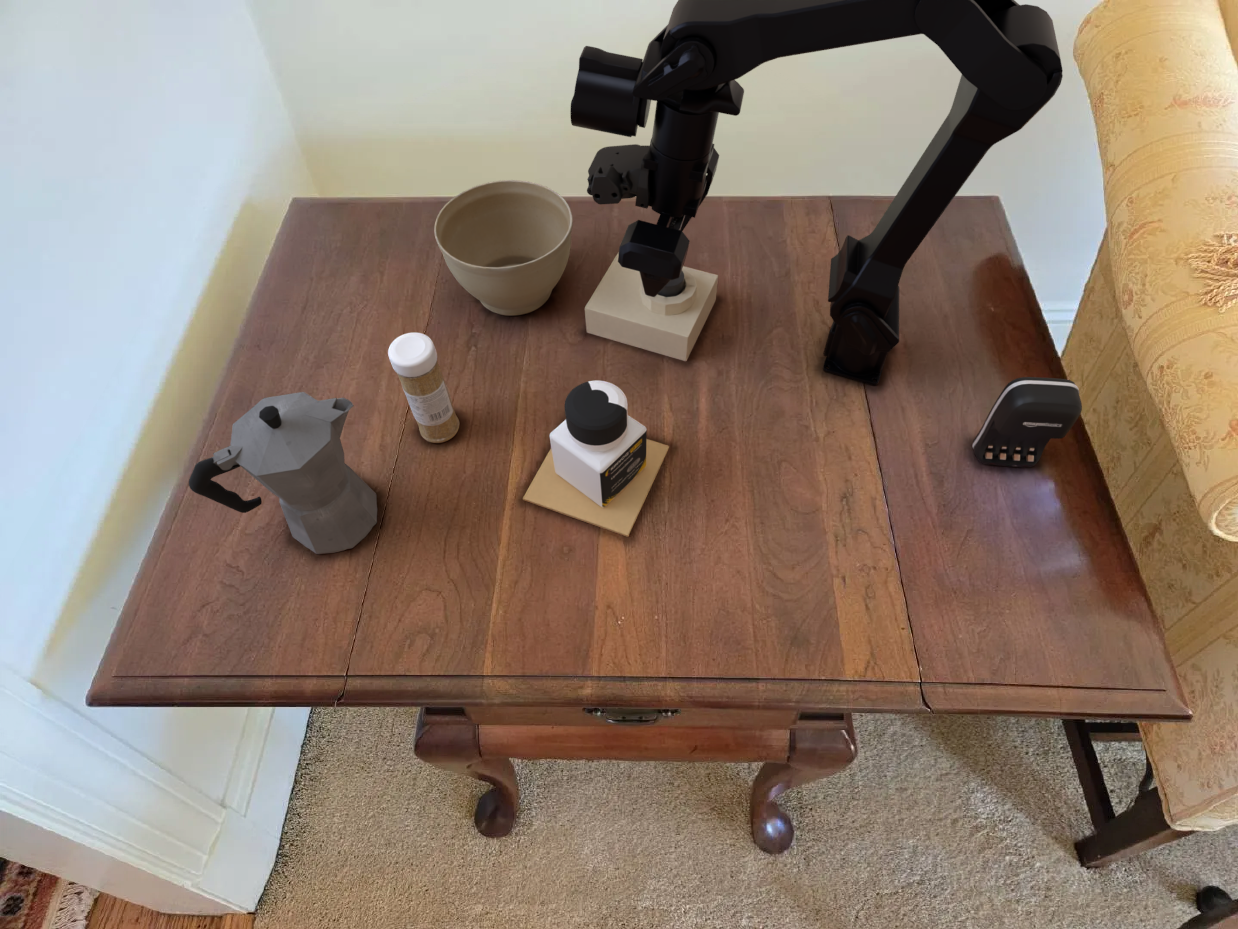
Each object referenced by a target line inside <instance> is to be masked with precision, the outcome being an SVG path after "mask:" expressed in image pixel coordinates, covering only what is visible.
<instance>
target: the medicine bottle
mask: <svg viewBox="0 0 1238 929" xmlns="http://www.w3.org/2000/svg"><path fill="white" fill-rule="evenodd" d="M628 409H629V408H628V398H627V396H626V394H625V393H624V391H623V390H622V389H621V388H620V387H619V386H617V385H615V384H614V383H612V382H609V381H605V380H599V379H596V380H589V381H585V382H582V383H580V384H578V385H576V386H575V387H574V388H573V389H571V391H569V393H567V396H566V397H565V400H564V415H565V419H564V421H562V422H561V423H560V424H558V426H557V427H555V428H554V429H553V430H552V431H551V432H550V433H549V441H550V442H549V443H550V449H552V455H553V461H554V467H555V472H556V473H557V474H558V475H559V476H560V477H562V478H563V479H564V480H566V481H567V482H568V483H570V484H571V485H572V486H574V487H575V488H576V489H578V490H579V491H580V492H582V493H583V494H585V495H586V496H587V497H589V498H590V499H591V500H593V501H594V502H595V503H597V504H598V505H599V506H601V507H602V508H603V507H606V506H607V505H608V504H609V503H610V502H611V501H612V500H613V499H614V498H615V497H616V496H617V495H618V494H619V493H620V492H621V491H622V490H623V489H624V488H625V487H626V486H627V485H628V484H629V483H630V482H631V481H632V480H633V479H634V478H635V477H636V476H637V475H638V474H639V473H640V472H641V471H642V470H643V469H644V468H645V467H646V443H647V439H648V438H647V436H648V433H647V426H645V425H644V424H642V423H641V422H639V421H638V420H636V419H635V418H634V417H632V416H630V415H629V414H628V413H629V412H628Z"/></svg>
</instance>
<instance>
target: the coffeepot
mask: <svg viewBox="0 0 1238 929" xmlns="http://www.w3.org/2000/svg"><path fill="white" fill-rule="evenodd" d="M353 407H354V404H353V402H352V400H350V399H347V398H346V397H339V398H337V397H333V398H327V399H326V398H325V399H320V400H318V399H316V398H314V397H313V396H311V395H310V394H308V393H307V392H306V391H299V392H293V393H292V392H291V393H286V394H280V395H273V396H268V397H263V398H262V399H261V400H260V401H258V402H257V403H256V404H255V405H253V406H252V408H250V409H249V410H248V411H247V412H245V413H244V414H243V415H242V416H241V417H239V418H238V419H237V420H236V421H234V423H233V424H232V427H231V435H230V445H228V446H225V447H224V448H221V449H220V450H217V451H215V452H213V453H212V455H213V456H211V457H209V458H206V459H203V460H200V461H198V462H197V463H195V466H194V467H193V469H192V472H191V474H190V476H189V479H188V487H189V489H190V490H191V491H192V492H193V493H195V494H197V495H199V496H202V497H204V498H207V499H208V500H211V501H213V502H216V503H219V504H220V505H223V506H224V507H225V506H226V507H228V508H230V509H232V510H234V511H236V512H238V513H241V514H246V513H248V512H251V511H253V510H254V509H256V508H258V507H259V506H261V505H262V503H263V502H262V498H261V496H257V497H254V498H252V499H248V500H245V499H243V498H242V497H241V496H240V495H239V494H238V493H237V492H235V491H233V490H229V489H226V488H225V487H224V486H223V485H221V484H220V483H219V482H217V481H215V480H213V478H215V477H217V476H220V475H223V474H227V473H228V472H231V471H233V470H235V469H238V468H242V469H243V470H244V471H246V472H247V473H248V474H249V475H250V476H251V477H253V479H255V480H256V481H257V482H258V483H260V484H261V485H262V486H263V487H264V488H265V489H266V490H268V491H269V492H270V493H271V494H273V496H276V497H277V498H278V499H279V505H280V508H281V509H282V514H283V516H284V518H285V520H286V523H287V526H288V529H289V531H290V534H291V536H292V538H293V539H295V540H296V541H297V542H299V543H300V544H301V545H302V546H304V547H305V548H307V549H309V550H310V551H311V552H313V553H314V554H316V555H324V554H333V553H336V554H337V553H339V552H343V551H345V550H349V549H353V548H354V547H355V546H357V545H358V544H359V543H361V541H363V539H365V538H366V537H367V536H368V534H370V532H371V531H372V529H373V528H374V526H375V525H376V524H377V523H378V503H377V497H378V496H377V493H376V492H375V491H374V490H373V488H371V487H370V486H369V484H368V483H366V481H364V480H363V479H362V477H360V475H359V474H358V473H357V472H355V470H354V469H352V468H351V467H350V466H349V465H348V464H347V463H346V462H345V451H344V447H343V444H342V440H341V436H342V433H343V430H344V427H345V422H346V420H347V417H348V414H349V412H350V410H351V409H352V408H353Z"/></svg>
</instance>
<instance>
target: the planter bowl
mask: <svg viewBox="0 0 1238 929" xmlns="http://www.w3.org/2000/svg"><path fill="white" fill-rule="evenodd" d="M573 218H574V217H573V213H572V210H571V207H570V205H569V203H568V202H567V201H566V199H565V198H564V197H563V196H562V195H560V194H559V193H558V192H557V191H556V190H554V189H552V188H551V187H548V186H546V185H543V184H540V183H536V182H532V181H527V180H517V179H502V180H501V179H500V180H494V181H488V182H484V183H481V184H477V185H474V186H472V187H470V188H468V189H466V190H463V191H461V192H459V193H458V194H457V195H455V196H453V197H452V198H451V199H450V200H449V201H448V202H446V203H445V204H444V205H443V207H442V208H441V210H439V212H438V214H437V216H436V218H435V222H434V227H433V230H434V237H435V240H436V244H437V246H438V248H439V250H440V252H441V253H442V256H443V259H444V261H445V264H446V266H447V268H448V270H449V271H450V273H451V274H452V276H453V277H454V278H455V280H456V281H457V283H458V284H459V285H460V286H461V287H462V288H463V289H464V290H465V291H466V292H467V293H469V295H471V296H472V297H474V298H475V299H477V300H478V301H479V302H480V303H481V304H482V305H483V307H484V308H486V309H487V310H489V311H490V312H492V313H494V314H497V315H502V316H508V317H509V316H510V317H511V316H512V317H513V316H521V315H525V314H529V313H532V312H534V311H536V310H538V309H540V308H541V307H542V306H543V305H544V304H546V302H547V301H548V300H549V299H550V297H551V294H552V291H553V289H554V288H555V287H556V285H557V284H558V283H559V281H560V280H561V278H562V277H563V274H564V272H565V270H566V267H567V265H568V262H569V258H570V254H571V247H572V232H573V226H574V224H573V223H574V222H573Z"/></svg>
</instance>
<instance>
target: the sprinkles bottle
mask: <svg viewBox="0 0 1238 929" xmlns="http://www.w3.org/2000/svg"><path fill="white" fill-rule="evenodd" d="M387 355H388V358H389V362H390V363H391V366H392V369H393V370H394V372H395V373H396V374H397V376H398V379H399V381H400V384H401V388H402V390H403V392H404V395H405V398H406V400H407V402H408V405H409V407H410V410H411V412H412V415H413V418H414V419H415V421H416V423H417V426H418V428H419V429H418V430H419V433H420V436H421V437H422V438H423V439H424V440H425V441H426V442H428V443H433V444H441V443H445V442H447V441H449V440H451V439H452V438H454V437H455V436H456V435H457V433H458V431H459V429H460V420H459V418H458V416H457V415H456V411H455V409H454V405H453V400H452V397H451V394H450V391H449V387H448V386H447V384H446V380H445V377H444V375H443V373H442V369H441V368H440V364H439V361H438V352H437V350H436V347H435V344H434V342H433V339H432V338H430V336H428V335H427V334H424V333H422V332H413V331H412V332H406V333H404V334H401V335H399V336H397V337H396V338H394V340H392V342H391V343H390V344H389V348H388V350H387Z"/></svg>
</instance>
